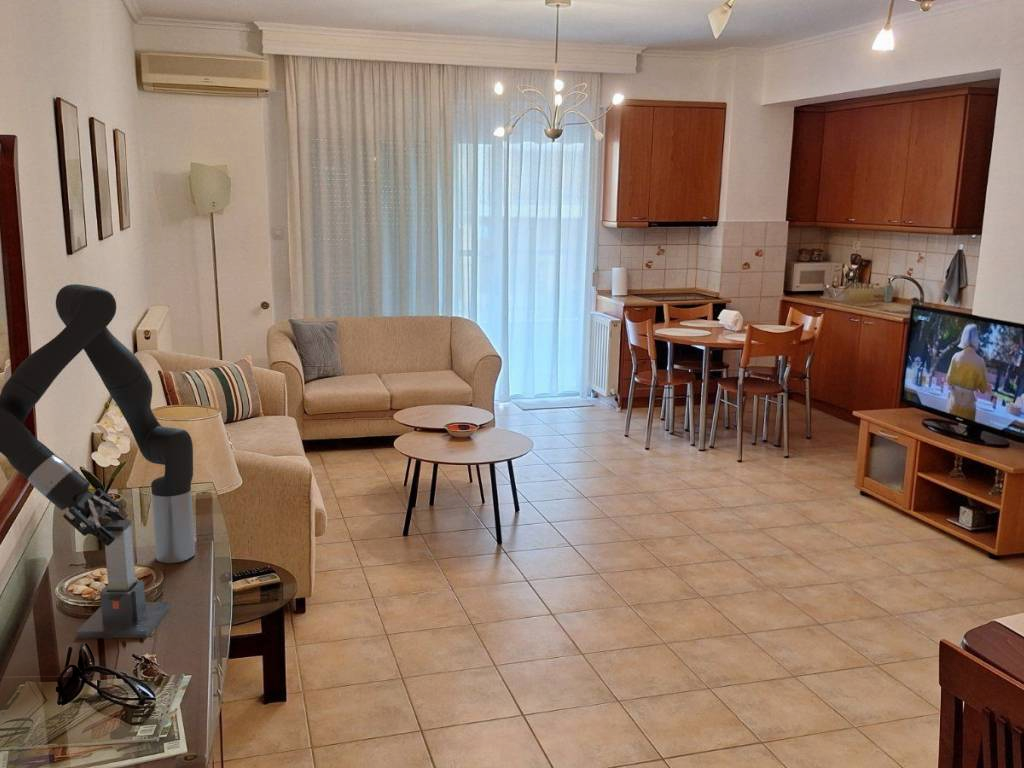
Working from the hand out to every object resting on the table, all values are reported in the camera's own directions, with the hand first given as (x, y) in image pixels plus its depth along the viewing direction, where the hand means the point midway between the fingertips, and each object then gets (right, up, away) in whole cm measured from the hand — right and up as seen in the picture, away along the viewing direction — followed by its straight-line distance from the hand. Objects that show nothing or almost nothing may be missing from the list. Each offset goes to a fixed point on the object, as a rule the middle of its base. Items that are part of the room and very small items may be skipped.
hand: (120, 535), depth 187 cm
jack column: (-1, -13, +2) cm, 13 cm away
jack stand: (-1, -19, +4) cm, 19 cm away
